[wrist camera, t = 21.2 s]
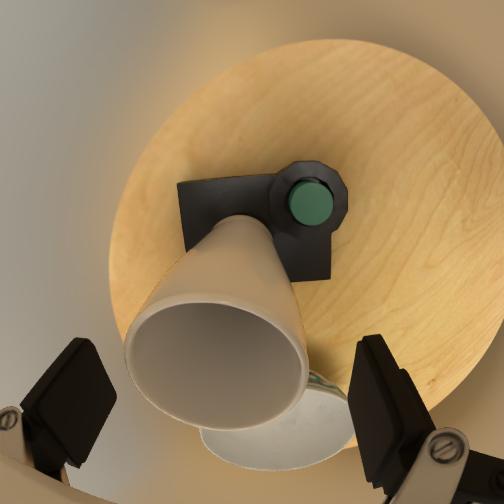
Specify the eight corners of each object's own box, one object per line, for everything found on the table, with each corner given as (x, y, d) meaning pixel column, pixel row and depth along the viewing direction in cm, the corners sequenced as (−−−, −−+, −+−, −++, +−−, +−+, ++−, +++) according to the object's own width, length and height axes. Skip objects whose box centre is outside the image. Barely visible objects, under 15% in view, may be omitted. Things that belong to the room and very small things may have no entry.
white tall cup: (252, 298, 25) (243, 449, 11) (184, 256, 24) (101, 381, 10) (299, 234, 23) (353, 357, 9) (227, 187, 22) (166, 247, 8)
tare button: (287, 181, 20) (289, 183, 19) (327, 180, 20) (332, 181, 19) (289, 221, 21) (291, 226, 20) (328, 219, 21) (333, 224, 20)
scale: (180, 170, 23) (169, 172, 20) (336, 159, 22) (347, 160, 19) (194, 281, 26) (187, 296, 23) (337, 272, 25) (345, 286, 22)
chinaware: (225, 426, 33) (219, 473, 26) (195, 339, 28) (178, 392, 21) (339, 414, 32) (350, 460, 24) (344, 322, 27) (366, 373, 20)
